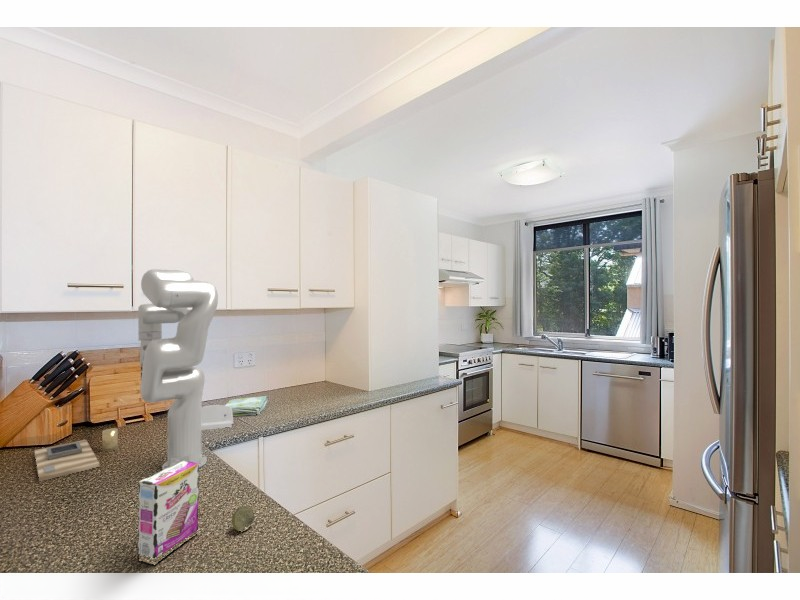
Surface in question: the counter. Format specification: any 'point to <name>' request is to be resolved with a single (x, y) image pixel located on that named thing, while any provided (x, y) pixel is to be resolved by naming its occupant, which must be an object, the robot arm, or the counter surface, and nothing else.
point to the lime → (242, 518)
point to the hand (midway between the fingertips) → (150, 380)
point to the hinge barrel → (110, 439)
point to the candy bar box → (167, 508)
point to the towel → (247, 405)
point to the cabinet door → (64, 459)
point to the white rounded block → (216, 417)
